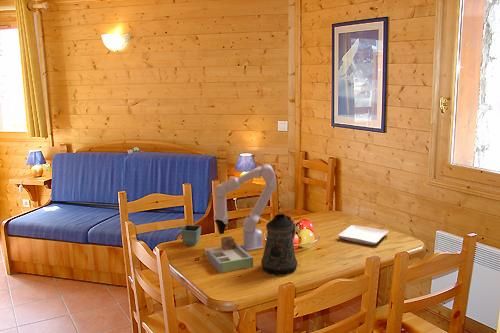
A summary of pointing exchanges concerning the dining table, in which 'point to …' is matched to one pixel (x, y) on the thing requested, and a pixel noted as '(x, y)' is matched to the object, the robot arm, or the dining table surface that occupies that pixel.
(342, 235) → the salad plate
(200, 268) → the dining table surface
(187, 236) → the flower pot
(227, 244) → the walnut block
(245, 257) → the tray
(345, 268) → the dining table surface
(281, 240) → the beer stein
